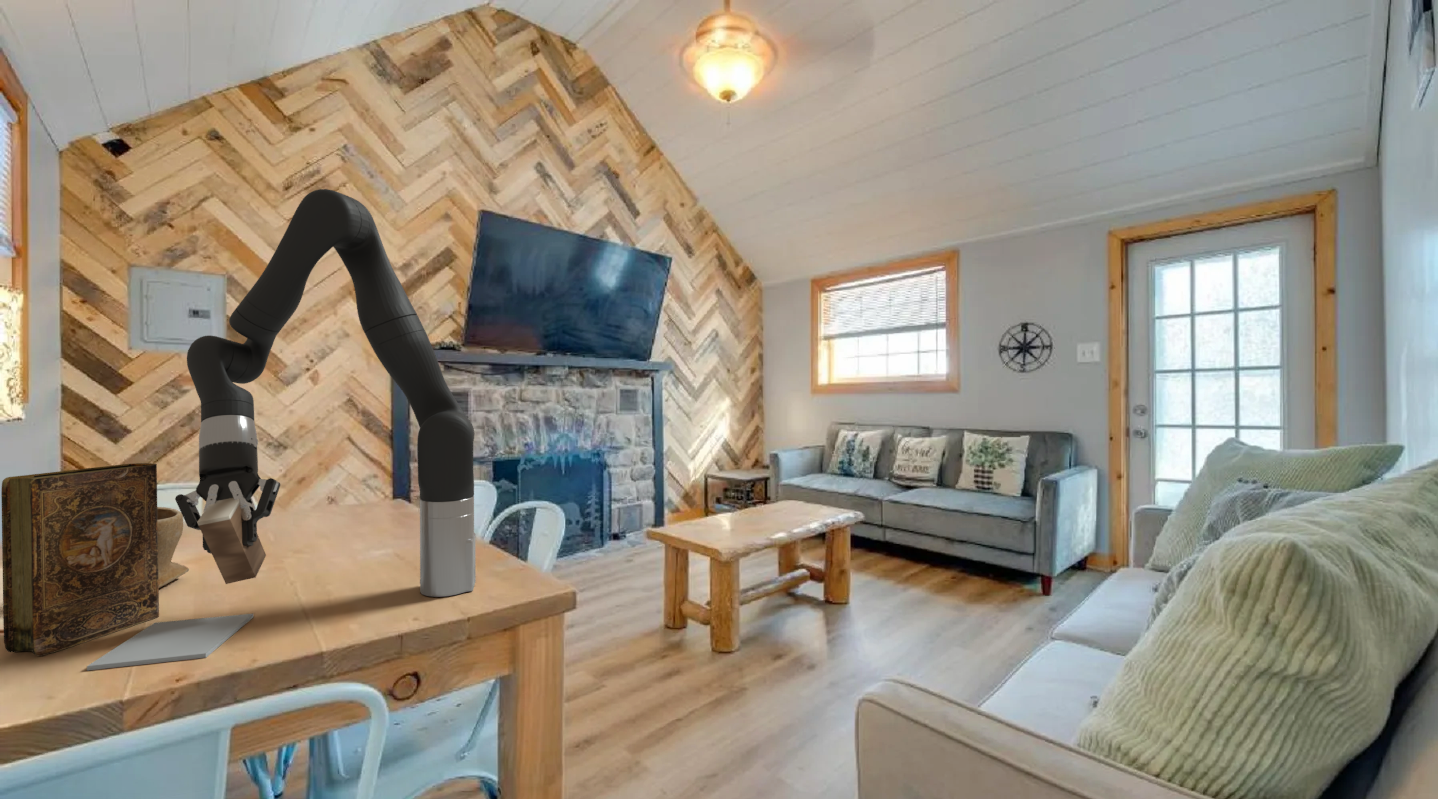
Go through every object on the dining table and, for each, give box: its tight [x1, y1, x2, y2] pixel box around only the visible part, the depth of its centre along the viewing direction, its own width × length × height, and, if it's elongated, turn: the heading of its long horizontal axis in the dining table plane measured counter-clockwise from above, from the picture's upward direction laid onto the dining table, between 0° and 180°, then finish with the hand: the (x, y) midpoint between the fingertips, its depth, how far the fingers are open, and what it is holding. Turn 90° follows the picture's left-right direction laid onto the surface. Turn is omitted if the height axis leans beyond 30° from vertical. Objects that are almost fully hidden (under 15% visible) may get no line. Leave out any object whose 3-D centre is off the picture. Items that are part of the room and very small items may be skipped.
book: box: [0, 462, 160, 657], centre depth 90 cm, size 16×6×25 cm, turn 168°
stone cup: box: [157, 506, 190, 589], centre depth 110 cm, size 15×12×15 cm
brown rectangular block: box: [197, 498, 267, 585], centre depth 95 cm, size 4×6×12 cm, turn 23°
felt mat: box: [86, 613, 254, 671], centre depth 88 cm, size 13×15×1 cm
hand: (230, 548), depth 94 cm, fingers closed on brown rectangular block, 4 cm apart
